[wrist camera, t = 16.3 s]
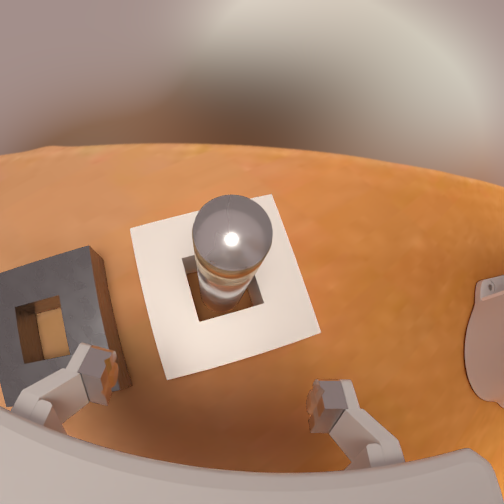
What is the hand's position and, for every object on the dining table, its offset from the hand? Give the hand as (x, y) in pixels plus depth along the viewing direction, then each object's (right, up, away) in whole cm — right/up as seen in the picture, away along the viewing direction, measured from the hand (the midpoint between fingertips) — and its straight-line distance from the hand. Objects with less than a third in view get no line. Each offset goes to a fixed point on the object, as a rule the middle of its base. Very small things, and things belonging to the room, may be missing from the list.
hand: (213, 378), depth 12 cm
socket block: (-16, -3, +13) cm, 21 cm away
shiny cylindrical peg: (-1, +1, +17) cm, 17 cm away
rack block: (-1, +1, +16) cm, 17 cm away
